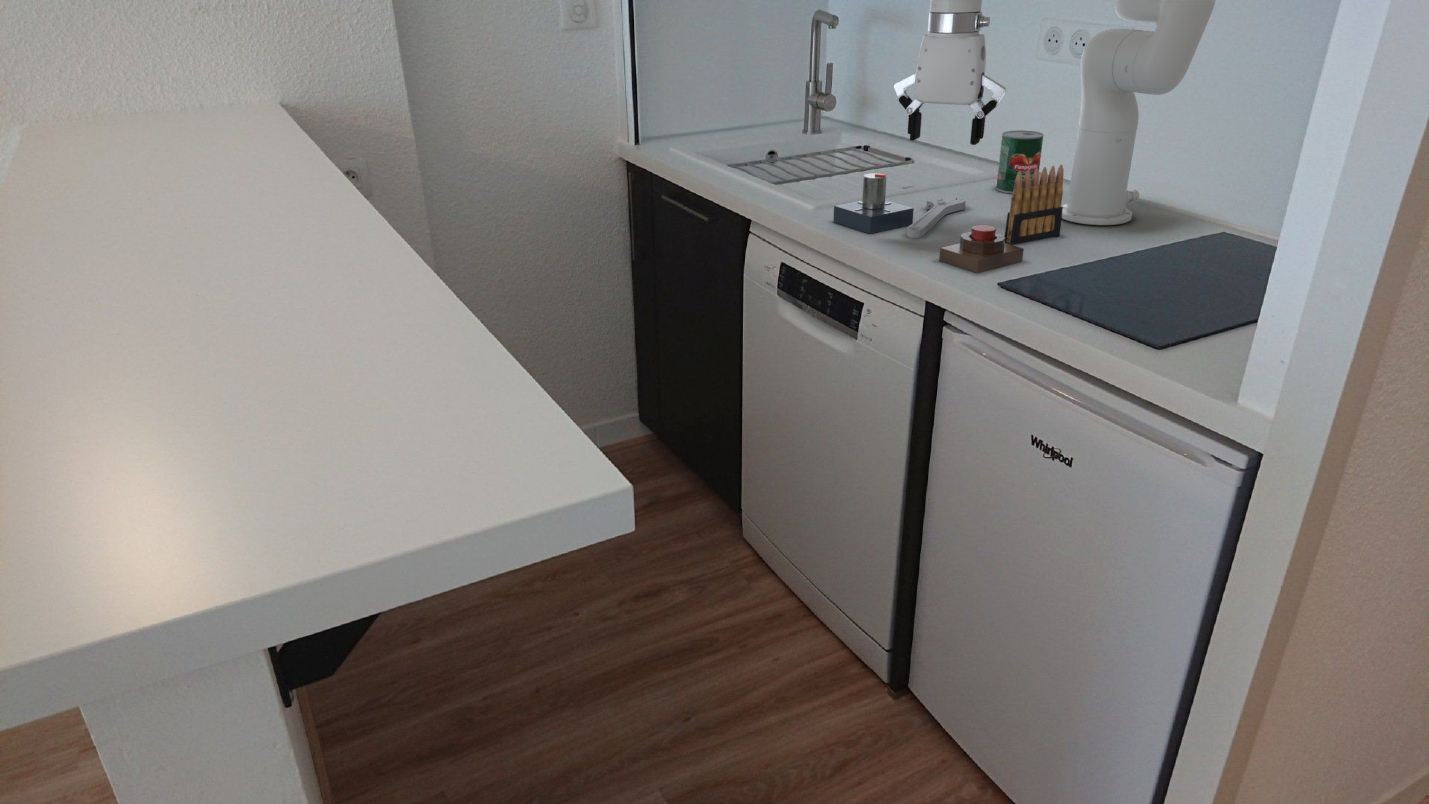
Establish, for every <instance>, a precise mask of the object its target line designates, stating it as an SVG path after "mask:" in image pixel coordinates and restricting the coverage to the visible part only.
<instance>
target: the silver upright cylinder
mask: <svg viewBox="0 0 1429 804" xmlns="http://www.w3.org/2000/svg"><path fill="white" fill-rule="evenodd" d="M887 178H888V177H887V174H884V173H879V172H877V173H876V172H875V173H873V172H872V173H871V172H870V173H865V174H863V179H862V198H861V199H862V200H861V201H862V207H863V208H866V209H882V208H884V207H885V200H886V191H887Z"/></svg>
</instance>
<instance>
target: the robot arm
mask: <svg viewBox="0 0 1429 804" xmlns="http://www.w3.org/2000/svg"><path fill="white" fill-rule="evenodd" d="M982 2H983V0H929V13H928V26H927V33H925V34H923V36H922V40H921V44H920V47H919V51H918V58H917V62H916V68H915V73H913V74H912V75H909V76H908V77H905V78H904V79H901V80H899V81H898V82H895V83H894V85H893V89H894V92H895V94H896V96H897V98H898V102H899V104H900V105H901V106H902V107H903V108H904V110H905V113H906V114H907V115H908V119H907V120H908V121H907V135H909V141H911V142H913V141H917V139H920V138H921V130H922V118H923V114H922V112H921V111H920V109H921V108H922V107H923V106H924V105H925V104H937V105H957V106H958V105H959V106H969V108H970V109H971V111H972V112H973V114H974V118H972V120H971V129H970V141H969V144H970V145H971V146H976V145H978V144H979V143H980V142H981V140H982V139H984V136H985V125H986V124H985V123H986V116H988V115H989V114H990V113H991V112H992V111H994V109H996V108H997V107H998V106H999V104H1000V102H1001V101H1002V99H1003V98H1004V96H1005V94H1006V92H1007V88H1006V87H1005V86H1004V85H1002V84H1000V83H999V82H997V81H995V80H994V79H993V78H990V77H989V76H987V74H986V73H987V51H986V50H987V49H986V36H985V34H983V33H981V34H980V31H981V30H982V28H985V27H986V28H987V27H989V26H990V23H991V17H990V16H985V15H983V11H982V4H983V3H982ZM1215 4H1216V0H1113V9H1114V12H1115V15H1117V17H1118V18H1119V19H1121V20H1123V21H1125V22H1128V23H1134V24H1141V25H1142V24H1143V25H1156V27H1155V29H1154V31H1153V30H1152V31H1151V30H1144V29H1143V30H1142V29H1131V28H1130V29H1129V28H1111V29H1106V30H1103V31H1100V32H1098V33H1096V34H1094V35H1093V36H1092V37H1091V38H1089V40H1088V42H1087V43H1086V44H1085V46H1084V47H1083V50H1082V53H1081V57H1080V82H1081V99H1080V100H1081V101H1080V111H1079V117H1078V118H1079V119H1078V126H1077V133H1076V140H1075V147H1074V152H1073V153H1074V155H1073V161H1072V168H1071V177H1070V184H1069V191H1068V198H1067V203H1065V204H1061V207H1063V209H1062V219H1061V220H1065V221H1067V222H1071V223H1075V224H1081V225H1089V226H1116V225H1122V224H1126V223H1128V222H1130V221H1132V219H1133V212H1132V211H1131V210H1130V209H1129V208H1127V204H1128V203H1129V202H1130V203H1131V202H1134V201H1137V200H1138V199H1139V198H1140V192H1139V191H1138V190H1137V189H1132V190H1128V187H1129V178H1130V173H1131V167H1132V161H1133V156H1134V155H1133V154H1134V149H1135V144H1136V143H1135V142H1136V137H1137V132H1138V131H1137V130H1138V125H1139V116H1140V115H1139V112H1140V111H1139V106H1138V100H1137V98H1136V94H1137V93H1138V94H1144V95H1151V96H1154V95H1155V96H1159V95H1160V96H1161V95H1166V94H1168V93H1170V92H1172V91H1173V90H1174V89H1176V88H1177V87H1178V86H1179V84H1180V83H1181V82H1182V81H1183V79H1184V78H1185V75H1186V74H1187V72H1188V70H1189V67H1190V65H1191V63H1192V61H1193V58H1194V56H1195V54H1196V51H1197V49H1198V47H1199V45H1200V42H1201V39H1202V37H1203V35H1204V32H1205V30H1206V29H1207V28H1206V27H1207V25H1208V22H1209V21H1210V18H1211V16H1212V12H1213V11H1214V8H1215ZM911 85H913V96H914V100H913V99H912V97H910V96H909V95H908V92H907V88H908V87H910V86H911ZM986 90H989V91H990V92H992V97H991V98H990V100H989V101H988V102H987V103H986V104H985V103H984V101H983V100H982V99H983V98H984V96H985V91H986ZM1135 93H1136V94H1135Z"/></svg>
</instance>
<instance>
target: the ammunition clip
mask: <svg viewBox="0 0 1429 804" xmlns="http://www.w3.org/2000/svg"><path fill="white" fill-rule="evenodd" d="M1030 184H1031V187H1030ZM1063 187H1064V166H1063V164H1060V165H1059V167H1058V168H1057V171H1056V168H1055V165H1052V166H1051V167H1050V169H1049V172H1048V170H1047V167H1046V166H1043V168H1042V171H1041V173H1040V170H1039V171H1038V168H1036V169H1035V171H1034V174H1033V177H1032V181H1031V175H1030V171H1029V169H1028V170H1027V172H1026V174H1025V177H1024V181H1023V187H1022V174H1021V171H1019V172H1018V174H1017V176H1016V180H1015V184H1014V190H1013V194H1012V196H1011V199H1010V207H1009V212H1007V215H1006V216H1007V217H1006V223H1005V230H1004V235H1003V236H1004V237H1005V243H1007V244H1010V245H1014V246H1015V245H1020V244H1024V243H1030V242H1035V241H1036V242H1037V241H1041V240H1047V239H1052V238H1058V237H1059V238H1060V235H1061V227H1062V220H1063V219H1062V209H1063V207H1061V206H1062V201H1063V195H1064V194H1063V192H1064V188H1063Z"/></svg>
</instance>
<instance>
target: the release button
mask: <svg viewBox="0 0 1429 804" xmlns="http://www.w3.org/2000/svg"><path fill="white" fill-rule="evenodd" d="M970 232H971V239H975V240H982V241H988V240H995V233H997V228H996V227H994V226H992V225H987V224H986V225H985V224H979V225H974V226H972V227H971V231H970Z"/></svg>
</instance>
